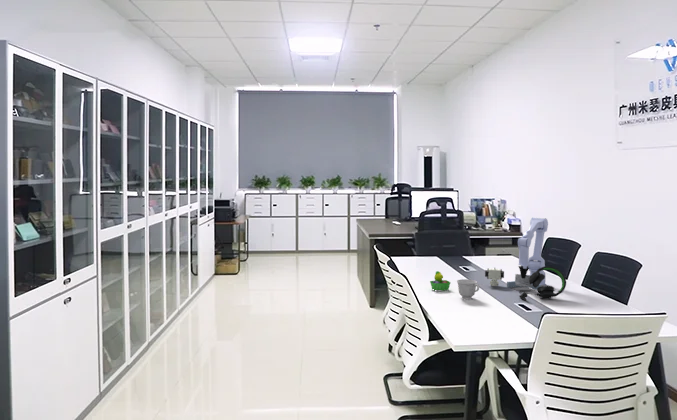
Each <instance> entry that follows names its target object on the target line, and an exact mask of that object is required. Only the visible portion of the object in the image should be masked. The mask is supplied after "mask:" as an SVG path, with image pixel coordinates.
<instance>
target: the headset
mask: <svg viewBox="0 0 677 420" xmlns="http://www.w3.org/2000/svg"><path fill="white" fill-rule="evenodd" d="M542 270H543V271H546V270H547V271H552V272H554V273H556V274H557V276H558V277H559V278H560V279H561V288H560V290H559V291H557V292H556V293H555V288H554V286H552V285H541V287H538V288H537V291H536V292H537V293H531V295H533V296H537V297H539V298H542V299H545V300H548V299H551V298H554V297H557V296H559V295H560V294H562V293H563V292H564V291H565V289H566V286H567V279H566V276H565V274H564V273H563V272H562V271H561V270H560V269H559V268H557V267H554V266H551V265H545V267H542V268H539V269H538V270H537V271H536V272H534V273H533V274H532V275H531V276H530V278H529V284H532V285H533V286H534V287H535V288H536V287H537V286H538V285H539V284H540V283H541V281H542V280H543V279H544V278H545V275H546V274H545V275H543V274H540V273H539V272H540V271H542ZM518 293H519V294H520V295H518V297H519V298H520V299H521V300H525V301H527V297H528V295H530V292H520V291H518Z"/></svg>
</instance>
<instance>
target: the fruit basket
mask: <svg viewBox="0 0 677 420" xmlns="http://www.w3.org/2000/svg"><path fill="white" fill-rule="evenodd" d="M443 278H444V276H443V274H442V273H441V271H439V270H437V271H435V274H434V280H430V281H429V283H430V286H431V290H433V289H434V290H433V291H435V290H441V291H449V289H450V286H451V281H448V280H447V279H443Z"/></svg>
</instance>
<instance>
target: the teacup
mask: <svg viewBox="0 0 677 420" xmlns="http://www.w3.org/2000/svg"><path fill="white" fill-rule="evenodd" d="M456 283H457V286H458V287H457V288H458V293H459V295H460V296H461V299H463V300H472V299H473V298H472V297H473V296H475V294H476V292H478V291H479V290H480V284H478V281H477V280H474V279H465V278H464V279H457V280H456Z"/></svg>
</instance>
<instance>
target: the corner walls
mask: <svg viewBox="0 0 677 420" xmlns="http://www.w3.org/2000/svg"><path fill="white" fill-rule="evenodd" d="M541 286H542V285H538V286H537V287H536V288H535V287H534V286H533V287H527V286H525V287H527V288H531V289H534V290H537V288H538V287H541ZM506 287H507V288H509V289H510V288H512V287H521V286H516V285H515V280H512V281H511V280H510V281H506Z"/></svg>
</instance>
